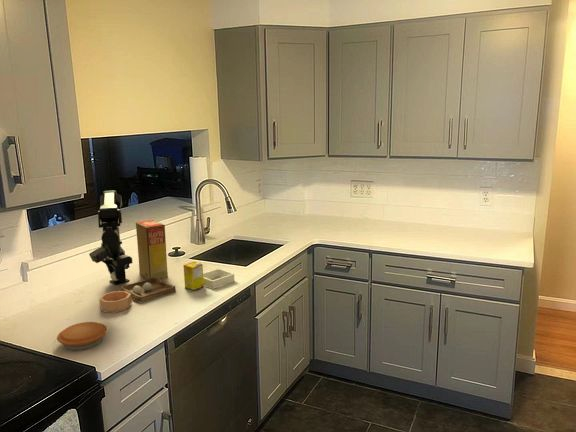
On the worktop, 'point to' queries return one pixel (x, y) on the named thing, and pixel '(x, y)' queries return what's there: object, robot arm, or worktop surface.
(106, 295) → the bowl
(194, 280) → the supplement box
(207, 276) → the cream holder
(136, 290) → the pebble
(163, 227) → the food packaging
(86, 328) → the pie
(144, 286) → the pebble
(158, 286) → the tray
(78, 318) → the worktop surface
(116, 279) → the pebble
